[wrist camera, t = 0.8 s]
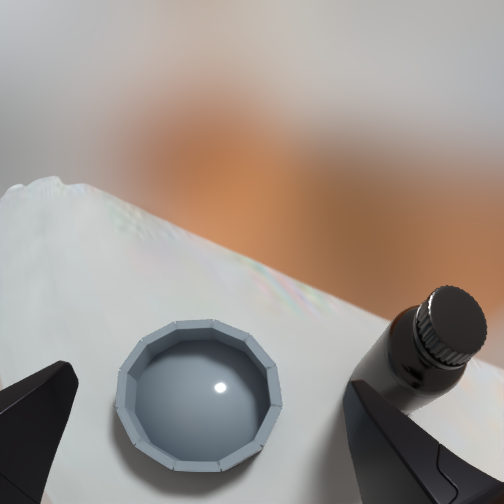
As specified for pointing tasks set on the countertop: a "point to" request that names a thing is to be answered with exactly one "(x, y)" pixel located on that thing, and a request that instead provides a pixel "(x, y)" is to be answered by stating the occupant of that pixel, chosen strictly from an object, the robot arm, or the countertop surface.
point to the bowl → (198, 396)
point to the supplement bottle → (425, 349)
